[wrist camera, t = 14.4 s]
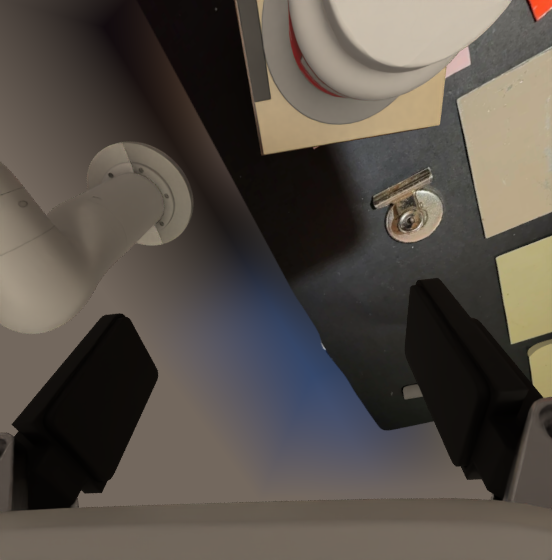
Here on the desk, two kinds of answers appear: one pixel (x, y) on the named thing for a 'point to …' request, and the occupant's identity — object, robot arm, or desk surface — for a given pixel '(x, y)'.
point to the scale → (317, 92)
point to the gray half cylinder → (412, 391)
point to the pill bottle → (382, 41)
